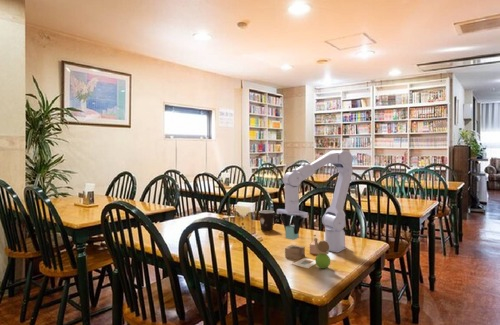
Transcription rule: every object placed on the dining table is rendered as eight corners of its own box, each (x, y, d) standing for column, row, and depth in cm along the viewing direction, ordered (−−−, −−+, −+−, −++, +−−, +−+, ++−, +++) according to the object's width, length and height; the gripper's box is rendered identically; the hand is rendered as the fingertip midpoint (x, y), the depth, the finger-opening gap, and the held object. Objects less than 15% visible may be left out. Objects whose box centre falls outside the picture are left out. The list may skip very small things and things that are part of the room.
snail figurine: (317, 263, 132) (317, 233, 132) (332, 267, 128) (332, 235, 128) (310, 267, 128) (310, 236, 128) (326, 271, 124) (326, 239, 124)
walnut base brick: (291, 253, 146) (291, 244, 146) (304, 256, 142) (304, 246, 142) (285, 257, 141) (285, 248, 141) (298, 260, 138) (298, 250, 137)
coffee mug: (256, 228, 191) (256, 210, 191) (271, 227, 194) (271, 209, 193) (263, 233, 180) (263, 214, 180) (279, 232, 183) (279, 213, 182)
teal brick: (290, 236, 147) (290, 224, 146) (298, 237, 144) (298, 226, 144) (285, 238, 144) (285, 226, 143) (293, 239, 141) (293, 227, 141)
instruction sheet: (304, 258, 139) (304, 257, 139) (319, 262, 134) (319, 261, 134) (292, 264, 132) (292, 263, 132) (308, 268, 127) (308, 267, 127)
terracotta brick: (312, 250, 149) (312, 241, 149) (321, 251, 148) (321, 242, 148) (309, 253, 146) (309, 244, 146) (318, 254, 144) (318, 245, 144)
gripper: (272, 200, 145) (272, 231, 145) (301, 203, 135) (301, 237, 136) (281, 198, 150) (282, 228, 151) (310, 201, 141) (310, 233, 141)
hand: (292, 232), depth 144 cm, fingers closed on teal brick, 4 cm apart
